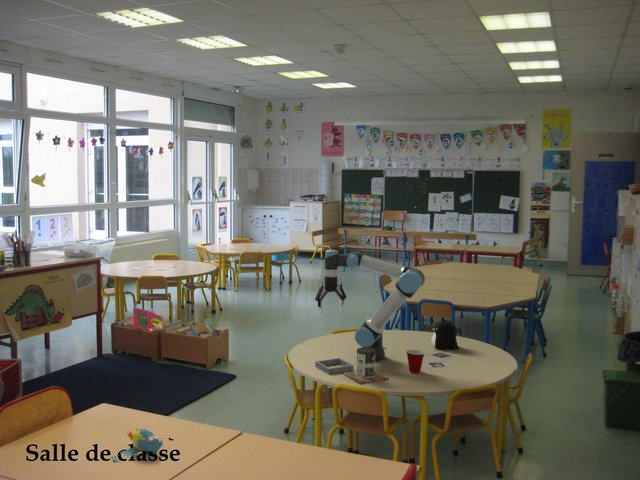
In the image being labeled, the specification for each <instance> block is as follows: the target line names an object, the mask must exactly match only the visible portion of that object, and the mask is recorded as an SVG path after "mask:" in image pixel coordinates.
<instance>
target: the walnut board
mask: <svg viewBox="0 0 640 480" xmlns="http://www.w3.org/2000/svg"><path fill="white" fill-rule="evenodd" d="M356 374H357V370H353V371H347V372H342V375H343V376H345V377H346V378H349V379H350V380H352V381H354V382H355V383H357V384H358V385H364V384H371V383H377V382H382V381H389V379H390V378H389V377H388V376H386V375H384V374H382V373H380V372H379V371H376V370H375V376H374V377H372V378H361V377H358V376H357V375H356Z"/></svg>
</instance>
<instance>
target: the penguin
mask: <svg viewBox="0 0 640 480" xmlns="http://www.w3.org/2000/svg"><path fill="white" fill-rule="evenodd" d="M452 322H453V321H451V320H447V319H446V320H445V319H444V320H443V319H442V320H441V321H439V322H437V323H435V325H434V326H433V328H432V329H431V330H432V331H433V334H432V338H431V341H430V342H431V345H432V346H433V347H434V348H435V347H436V349H437V348H439V349H438V350H445V349H451V350H455V349H459V348H460V346H459V345H458V341H457V332H458V331H457V327H456V325H454V323H452ZM454 348H455V349H454Z"/></svg>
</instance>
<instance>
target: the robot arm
mask: <svg viewBox="0 0 640 480" xmlns="http://www.w3.org/2000/svg"><path fill="white" fill-rule="evenodd" d="M324 254H325V255H324V284H320V285H319V288H318V291H317V294H316V295H315V297H314V301H317V308H318V312H319V313H320V314H321V313H322V314H323V300H324V299H325V297H326V295H327V294H328V293H331V292H333V293H335V294H336V295H337V297H338V298H339V299H338V311H340V312H342V311H343V305H344V301H345V300H346V299H347V295H346V292H345V291H344V289H343V284H342V283H338V273H339V271H338V267H341V268H351V269H352V268H353V269H354V268H357V267H360V268H363V269H366V270H369V271H372V272H375V273H380V274H381V275H382V274H383V275H385V276H388V277H392V278H395V279H398V281H396V283H395V284H394V290H393V291H392V292H391V293H390V294H389V296H388V297H387V298H386V300H385V301H383V303H382V304H381V306H380V307H379V308H378V309H377V311H376V312H375V313H374V314H373V315H372V317H371V318H366V319H363V324H362V325H361V326H360V327H359V328H357V329H356V331H355V332H354V333H355V334H354V339H355V340H354V341H355V342H356V343H357V345H358V346H360V347H361V348H373V349H375V350H376V352H375V361H381V360H385V358H386V353H385V349H384V346H383V339H384V338H383V337H384V336H383V335H384V334H383V333H384V327H385V326H386V324H387V323H388V322H389V321H390V320H391V318H393V316H394V315H395V314H396V313H397V311H398V310H399V309H400V307H401V306H402V305H403V304H404V303H405V302H406V300H407V299H411V298H413V296H414V295H415V294H416V293H417V292H418V290H419V289H420V288H421V287H423V285H424V283H425V280H426V278H425V275H424V273H423V272H422V271H421V270H420V269H418V268H414V267H411V266H407V265H404V266H403V265H402V266H401V265H397V264H394V263H391V262H388V261H385V260H382V259H378V258H375V257H372V256H369V255H366V254H362V253H361V252H359V251H352V252H349V253H346V254H345V253H342V254H341V253H339V251H338V250H337V249H336V250H335V249H327V250H326V251H325V253H324ZM338 289H339V290H338Z"/></svg>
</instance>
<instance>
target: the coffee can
mask: <svg viewBox="0 0 640 480" xmlns="http://www.w3.org/2000/svg"><path fill="white" fill-rule="evenodd" d="M375 352H376V350H375V349H373V348H362V347H358V348H357V349H356V371H357V374H356V375H357V376H358V377H361V378H372V377H374V376H375V371H376V360H375Z"/></svg>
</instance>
